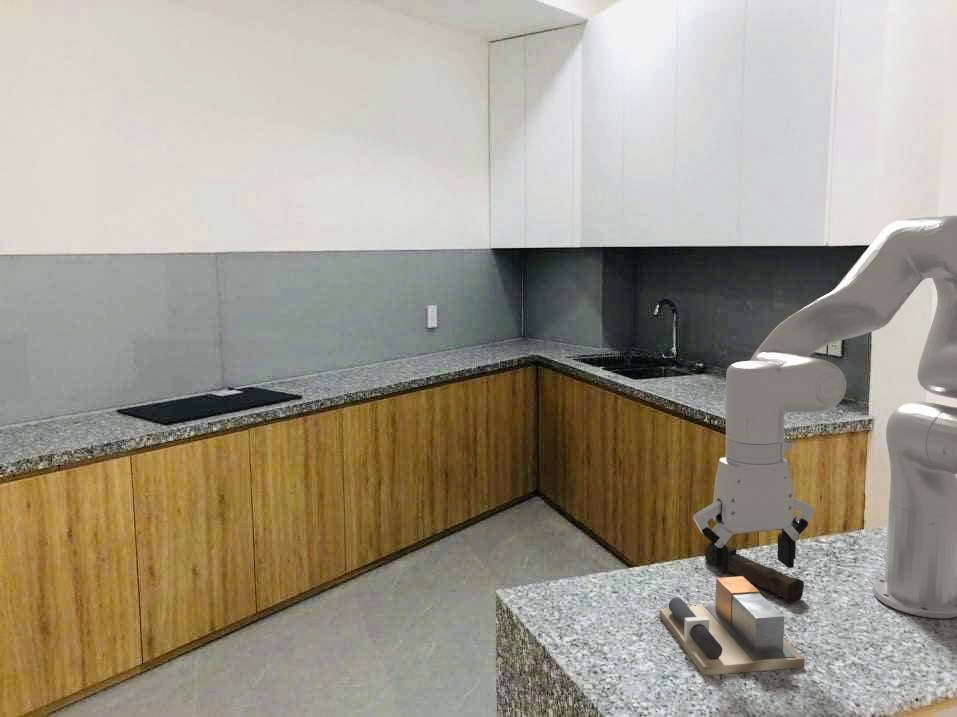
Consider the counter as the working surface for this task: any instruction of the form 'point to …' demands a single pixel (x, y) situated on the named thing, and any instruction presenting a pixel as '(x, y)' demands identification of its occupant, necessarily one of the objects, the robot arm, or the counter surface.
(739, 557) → the hand tool
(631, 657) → the counter surface
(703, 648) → the rod
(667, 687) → the counter surface
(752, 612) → the grey and copper block
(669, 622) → the board
